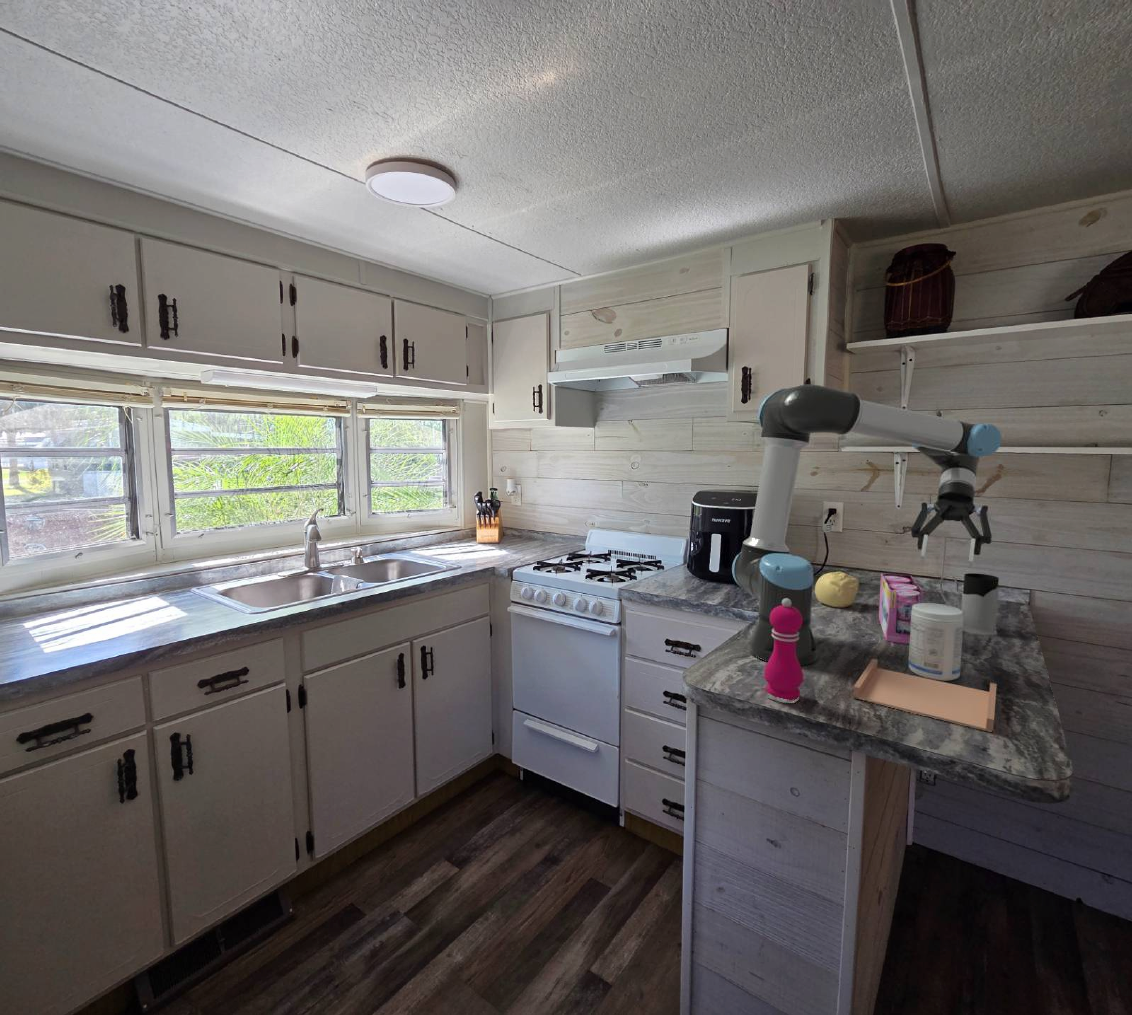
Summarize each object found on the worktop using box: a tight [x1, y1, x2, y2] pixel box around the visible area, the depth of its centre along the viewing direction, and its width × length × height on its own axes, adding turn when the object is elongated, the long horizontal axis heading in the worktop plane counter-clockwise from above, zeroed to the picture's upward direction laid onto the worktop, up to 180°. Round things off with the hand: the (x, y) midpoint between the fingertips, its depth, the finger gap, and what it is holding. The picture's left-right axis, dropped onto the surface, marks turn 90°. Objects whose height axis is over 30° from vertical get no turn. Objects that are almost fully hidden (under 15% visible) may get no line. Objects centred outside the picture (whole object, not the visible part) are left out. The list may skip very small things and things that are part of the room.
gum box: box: [878, 572, 924, 645], centre depth 151 cm, size 24×8×14 cm, turn 156°
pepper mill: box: [763, 598, 804, 700], centre depth 110 cm, size 7×7×20 cm
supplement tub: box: [908, 602, 964, 682], centre depth 123 cm, size 10×10×15 cm
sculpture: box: [814, 571, 860, 608], centre depth 178 cm, size 11×12×11 cm
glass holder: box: [939, 572, 1000, 636], centre depth 155 cm, size 9×14×15 cm, turn 33°
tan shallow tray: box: [852, 658, 998, 732], centre depth 111 cm, size 19×22×2 cm
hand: (946, 561), depth 132 cm, fingers open, 9 cm apart
